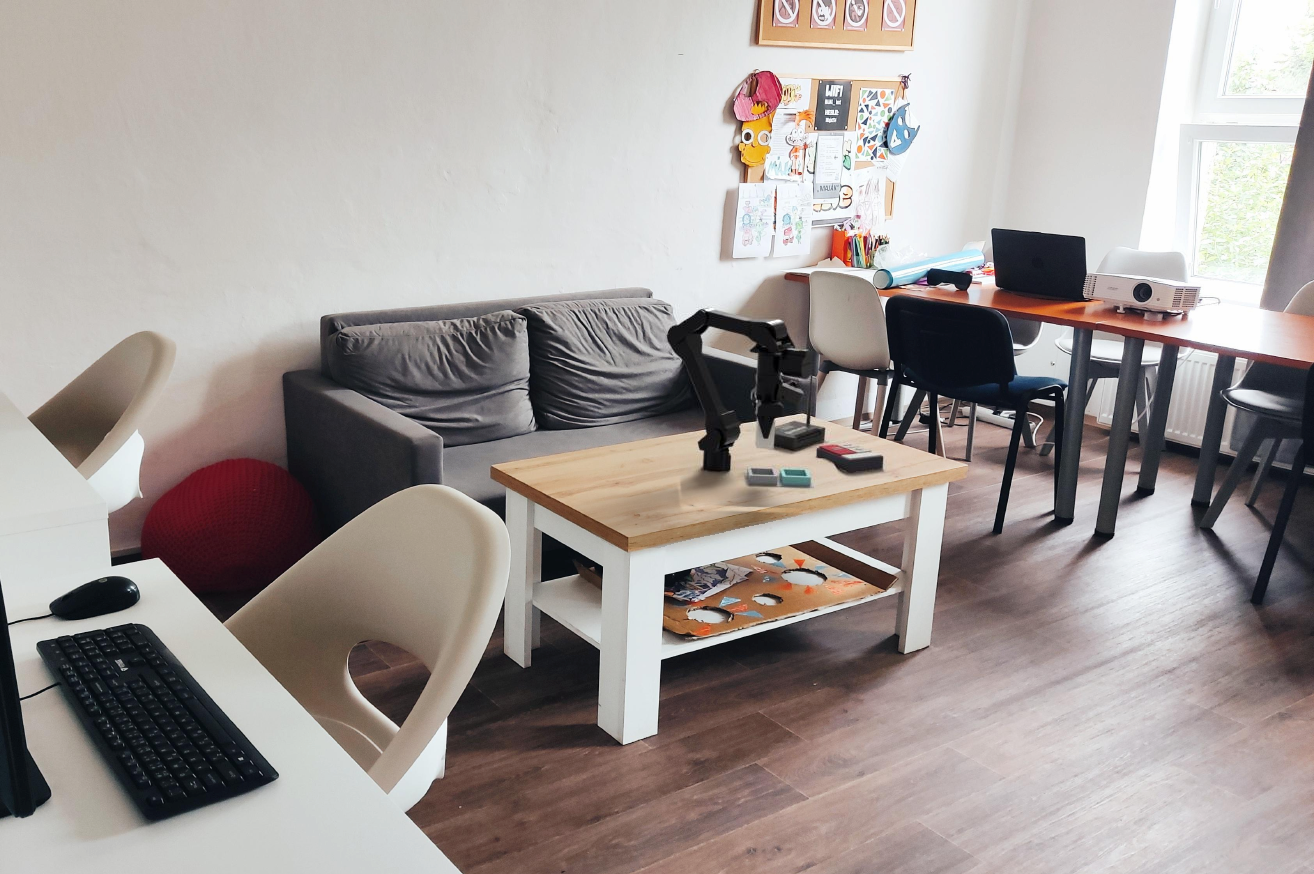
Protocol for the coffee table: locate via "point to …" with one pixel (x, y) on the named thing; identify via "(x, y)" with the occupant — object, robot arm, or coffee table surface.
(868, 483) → the coffee table surface
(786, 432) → the black antenna base
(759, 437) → the plug
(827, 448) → the calculator
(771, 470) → the compartment tray
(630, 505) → the coffee table surface
